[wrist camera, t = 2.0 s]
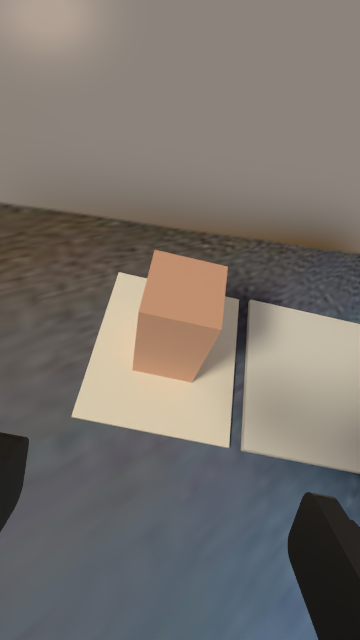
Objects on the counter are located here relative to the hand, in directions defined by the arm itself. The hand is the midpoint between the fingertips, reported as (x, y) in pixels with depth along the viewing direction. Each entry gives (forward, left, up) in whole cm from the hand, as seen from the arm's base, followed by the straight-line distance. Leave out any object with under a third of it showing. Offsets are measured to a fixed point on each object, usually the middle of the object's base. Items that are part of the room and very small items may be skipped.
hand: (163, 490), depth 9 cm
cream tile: (0, -12, -15) cm, 19 cm away
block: (0, -12, -15) cm, 19 cm away
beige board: (-13, -12, -15) cm, 23 cm away
